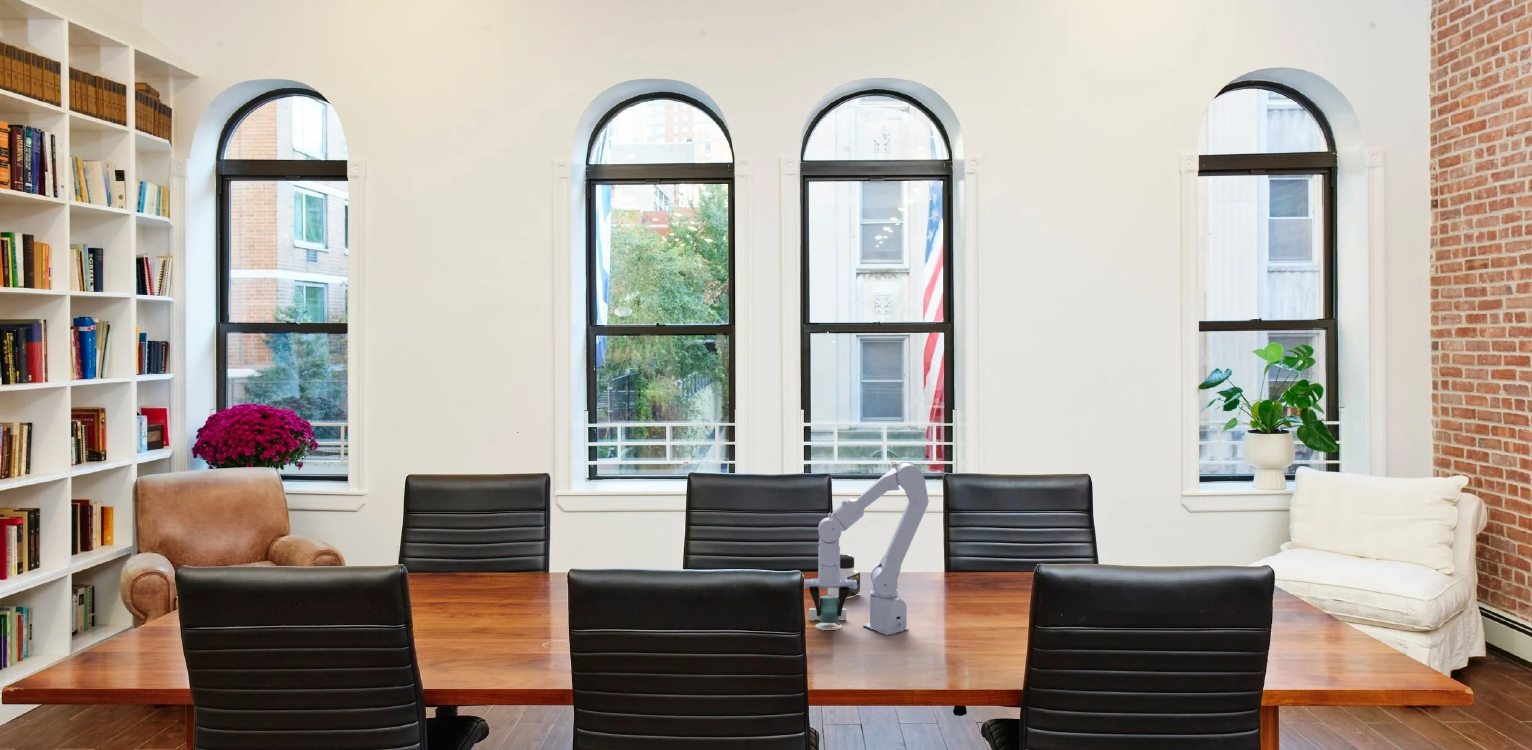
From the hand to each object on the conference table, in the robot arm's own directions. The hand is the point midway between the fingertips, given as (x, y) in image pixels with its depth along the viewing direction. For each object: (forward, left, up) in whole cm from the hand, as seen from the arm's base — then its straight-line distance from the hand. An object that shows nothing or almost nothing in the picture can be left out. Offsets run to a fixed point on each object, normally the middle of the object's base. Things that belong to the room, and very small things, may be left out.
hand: (828, 615), depth 240 cm
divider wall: (+5, -4, -3) cm, 7 cm away
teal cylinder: (0, 0, -2) cm, 2 cm away
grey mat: (0, 0, -3) cm, 3 cm away
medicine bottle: (+21, -23, -3) cm, 31 cm away
